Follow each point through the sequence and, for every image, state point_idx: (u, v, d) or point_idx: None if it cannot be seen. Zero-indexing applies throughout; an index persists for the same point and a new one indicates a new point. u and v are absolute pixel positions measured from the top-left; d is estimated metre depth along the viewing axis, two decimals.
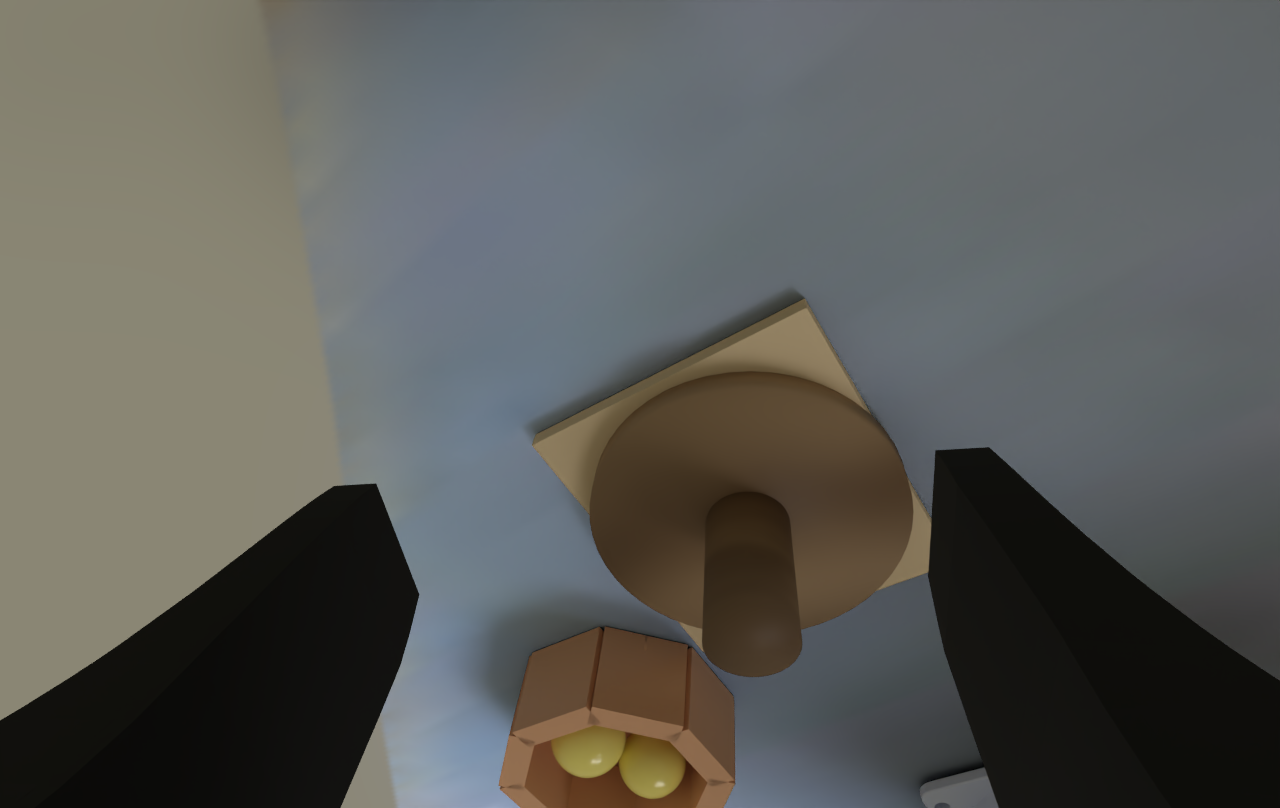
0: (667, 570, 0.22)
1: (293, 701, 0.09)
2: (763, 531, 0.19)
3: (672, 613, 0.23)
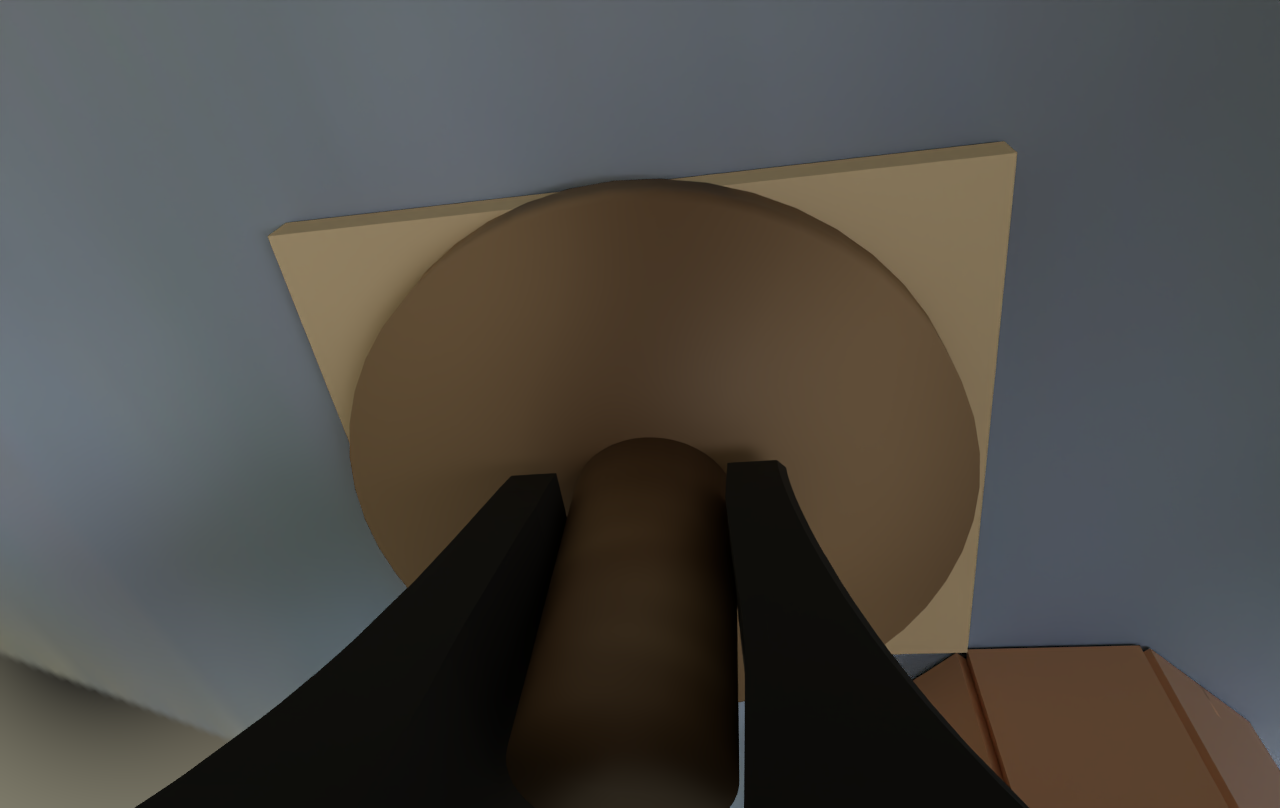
0: None
1: (509, 698, 0.08)
2: (572, 532, 0.09)
3: None
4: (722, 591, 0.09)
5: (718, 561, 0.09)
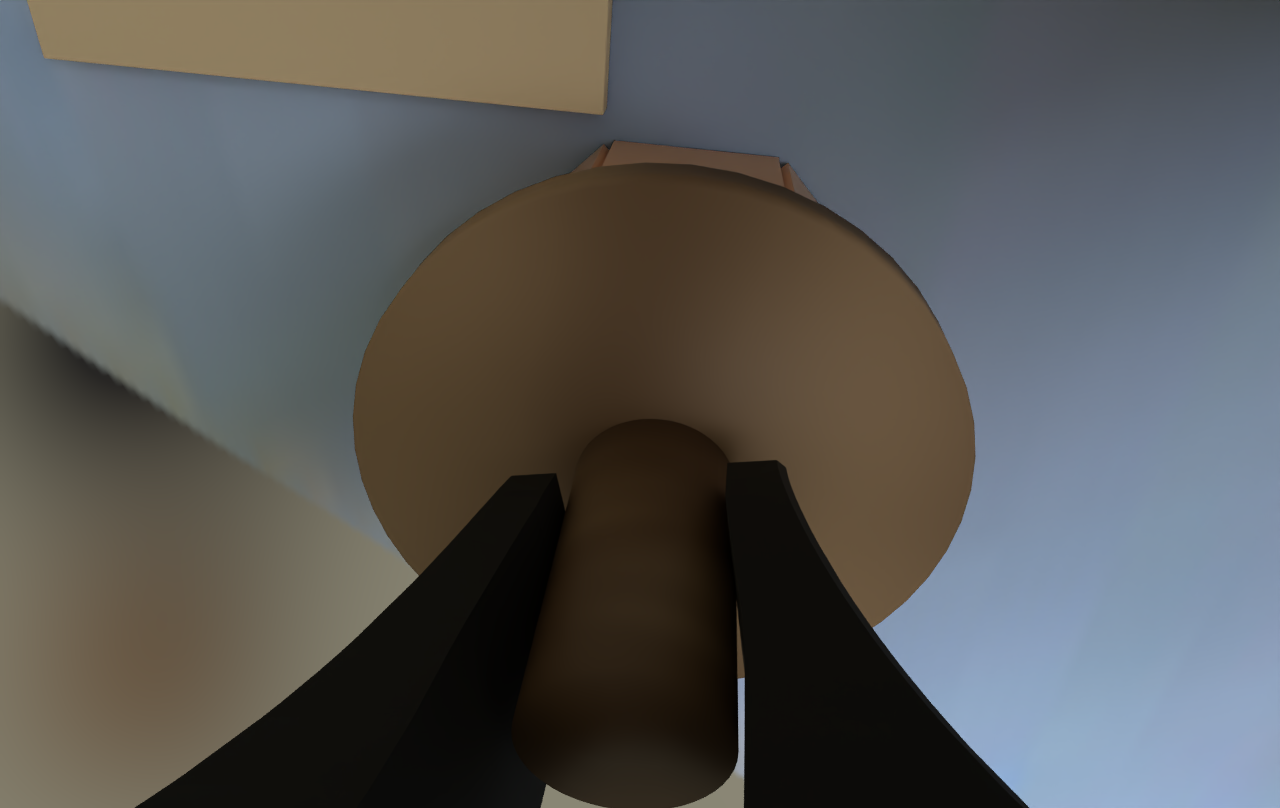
0: None
1: (509, 698, 0.08)
2: (572, 514, 0.10)
3: None
4: (719, 566, 0.09)
5: (715, 537, 0.09)
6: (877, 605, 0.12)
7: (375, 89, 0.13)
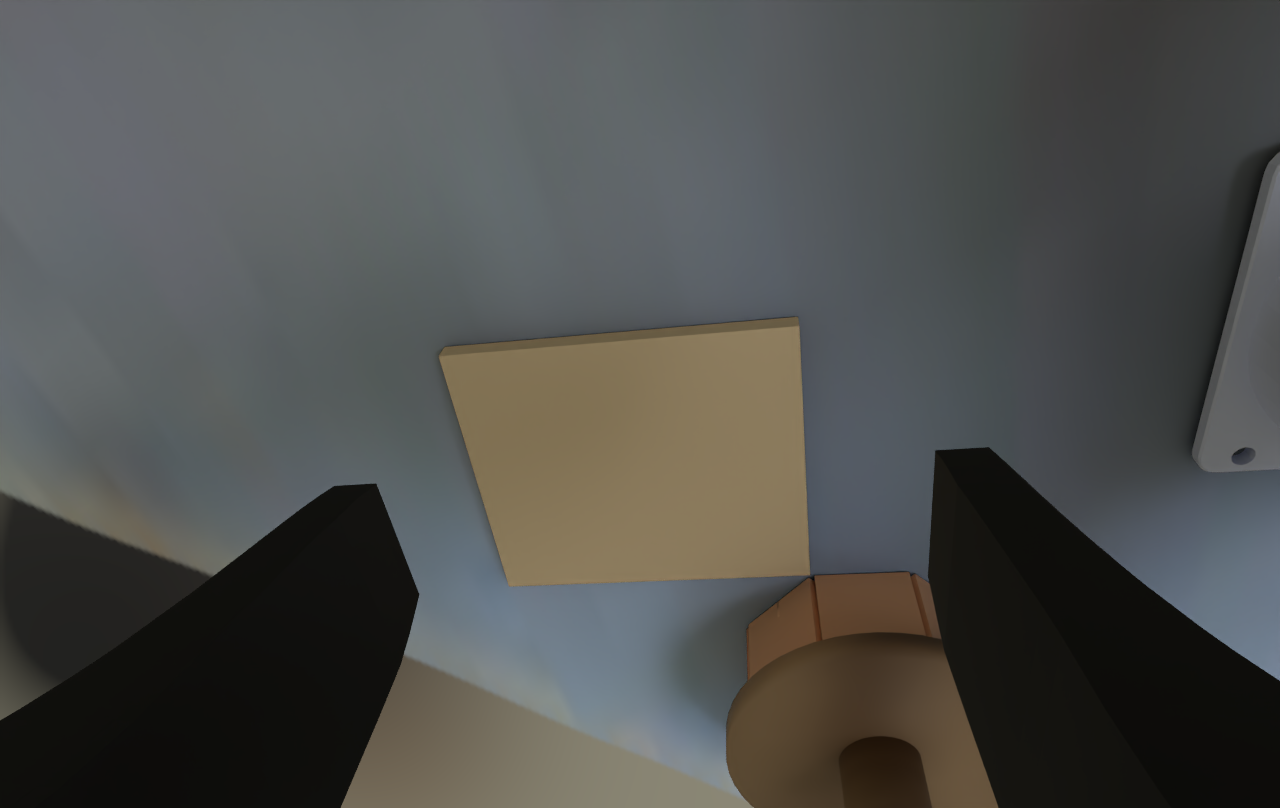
0: None
1: (293, 701, 0.09)
2: (851, 797, 0.21)
3: None
4: None
5: (922, 806, 0.20)
6: None
7: (685, 578, 0.24)
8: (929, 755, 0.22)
